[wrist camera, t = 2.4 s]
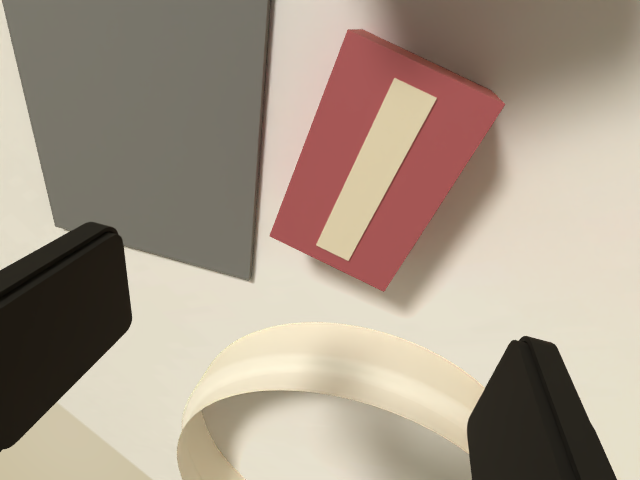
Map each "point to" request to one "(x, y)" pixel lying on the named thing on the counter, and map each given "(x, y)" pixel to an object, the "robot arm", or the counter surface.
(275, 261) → the counter surface
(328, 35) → the counter surface
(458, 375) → the cream hollow ring
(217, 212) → the mat
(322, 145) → the card box
